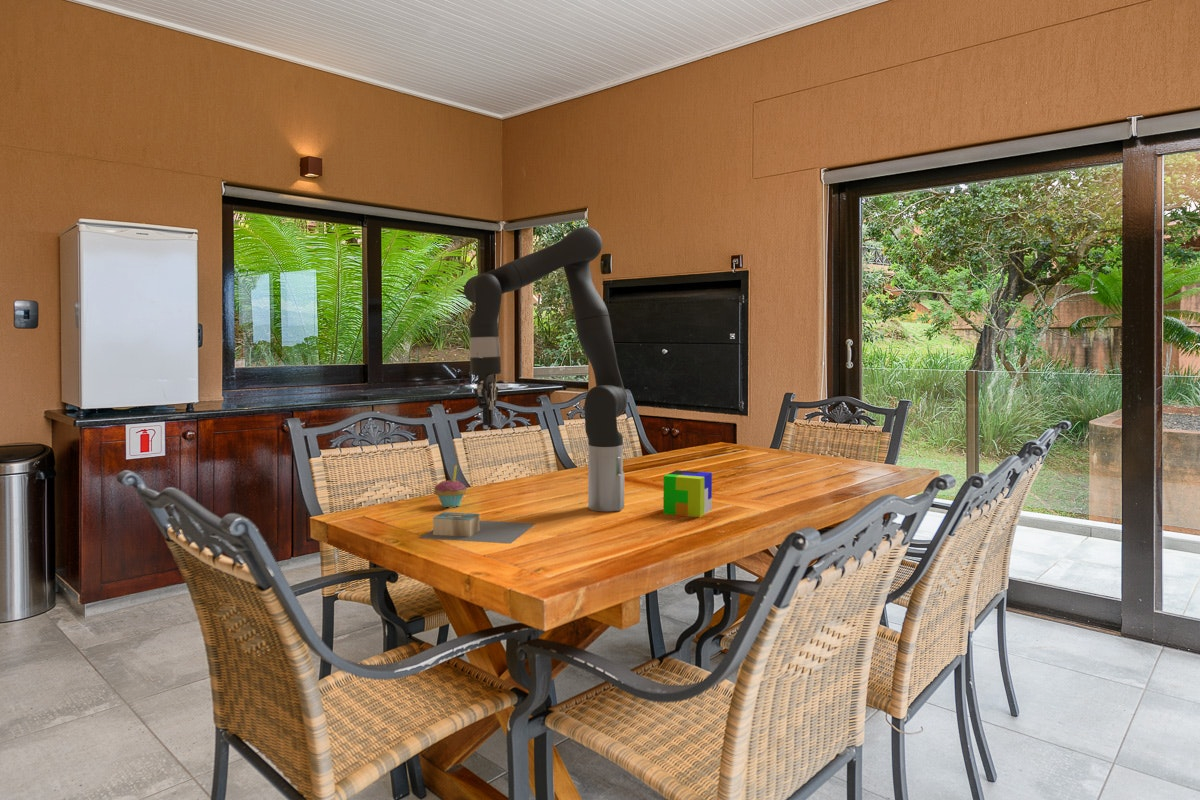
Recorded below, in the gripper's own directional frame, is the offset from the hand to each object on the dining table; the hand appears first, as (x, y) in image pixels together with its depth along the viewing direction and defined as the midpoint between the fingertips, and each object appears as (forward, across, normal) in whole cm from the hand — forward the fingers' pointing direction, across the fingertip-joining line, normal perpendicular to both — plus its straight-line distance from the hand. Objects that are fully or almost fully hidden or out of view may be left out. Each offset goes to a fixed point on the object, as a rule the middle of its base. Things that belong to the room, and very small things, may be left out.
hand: (488, 424), depth 192 cm
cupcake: (+24, -14, -16) cm, 32 cm away
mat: (+24, +12, 0) cm, 27 cm away
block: (+22, +15, 0) cm, 27 cm away
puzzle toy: (+26, -17, +48) cm, 57 cm away
